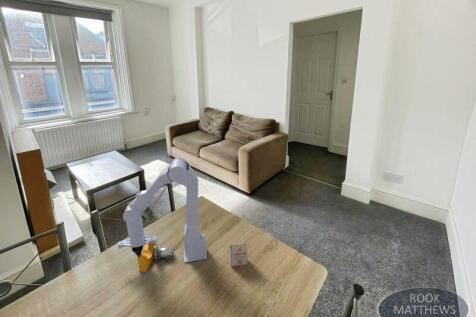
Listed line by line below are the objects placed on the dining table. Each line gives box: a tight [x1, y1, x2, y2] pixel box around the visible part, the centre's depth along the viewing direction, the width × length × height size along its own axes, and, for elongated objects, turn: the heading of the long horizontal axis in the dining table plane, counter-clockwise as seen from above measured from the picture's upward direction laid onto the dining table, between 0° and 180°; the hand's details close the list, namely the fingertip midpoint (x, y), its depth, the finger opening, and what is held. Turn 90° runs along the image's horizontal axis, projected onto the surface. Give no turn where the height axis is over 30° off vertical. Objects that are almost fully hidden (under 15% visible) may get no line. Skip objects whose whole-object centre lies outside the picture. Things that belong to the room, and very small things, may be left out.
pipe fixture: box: [153, 244, 173, 262], centre depth 102 cm, size 7×6×6 cm
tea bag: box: [229, 242, 248, 268], centre depth 99 cm, size 4×7×10 cm, turn 100°
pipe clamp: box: [137, 242, 158, 273], centre depth 100 cm, size 12×4×6 cm, turn 177°
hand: (140, 258), depth 101 cm, fingers closed, pressing on pipe clamp
